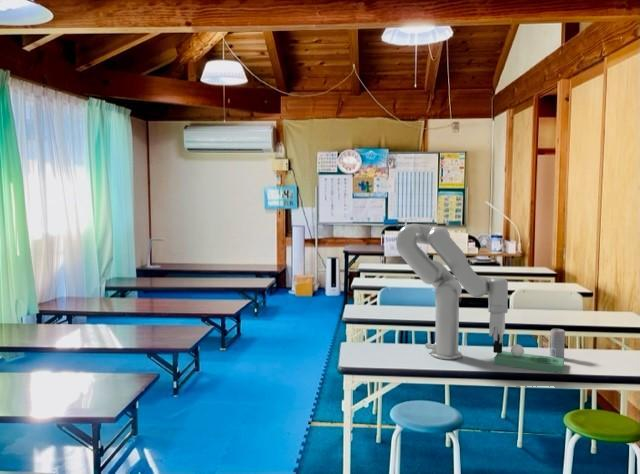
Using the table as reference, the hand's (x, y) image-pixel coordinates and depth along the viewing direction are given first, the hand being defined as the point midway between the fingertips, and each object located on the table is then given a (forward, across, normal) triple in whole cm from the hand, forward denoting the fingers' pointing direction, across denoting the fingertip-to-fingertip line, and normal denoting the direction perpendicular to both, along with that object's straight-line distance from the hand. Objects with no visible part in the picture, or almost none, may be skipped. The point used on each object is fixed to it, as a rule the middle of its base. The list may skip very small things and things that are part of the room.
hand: (497, 352), depth 224 cm
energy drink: (+4, -15, +21) cm, 26 cm away
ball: (-1, -1, +8) cm, 8 cm away
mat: (+4, -1, +12) cm, 13 cm away
